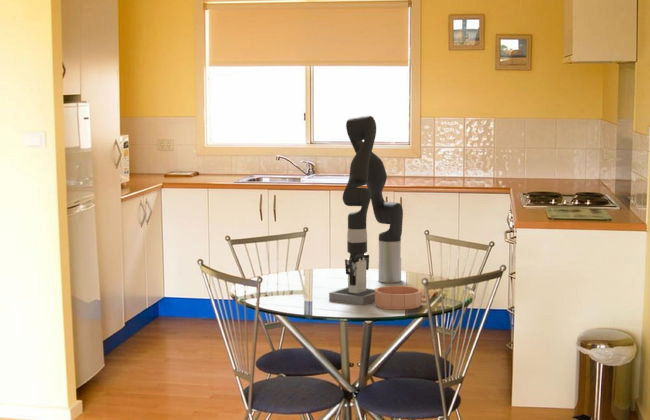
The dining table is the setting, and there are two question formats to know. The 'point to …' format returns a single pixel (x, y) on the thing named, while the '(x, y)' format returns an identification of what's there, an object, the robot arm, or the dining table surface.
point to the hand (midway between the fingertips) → (357, 283)
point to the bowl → (397, 297)
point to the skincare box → (359, 277)
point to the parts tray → (353, 296)
